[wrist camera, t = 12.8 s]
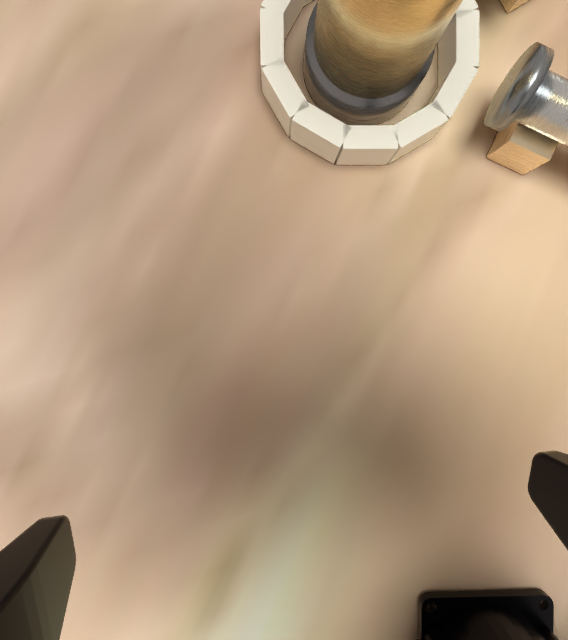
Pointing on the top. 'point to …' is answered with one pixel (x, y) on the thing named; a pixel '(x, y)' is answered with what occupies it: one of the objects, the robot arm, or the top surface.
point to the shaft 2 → (529, 112)
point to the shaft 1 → (512, 4)
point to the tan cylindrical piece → (371, 54)
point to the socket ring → (364, 140)
